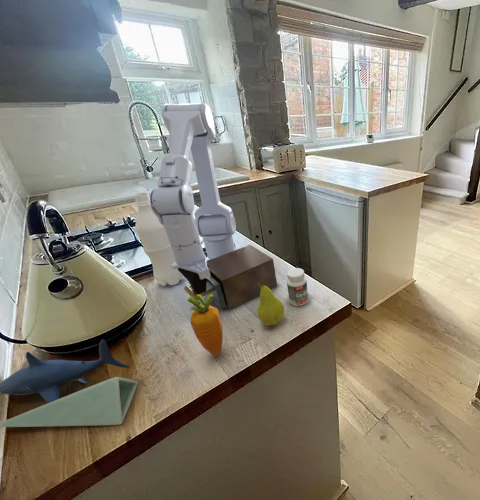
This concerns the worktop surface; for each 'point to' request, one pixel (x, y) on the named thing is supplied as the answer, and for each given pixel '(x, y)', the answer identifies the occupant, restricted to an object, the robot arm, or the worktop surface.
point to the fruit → (269, 307)
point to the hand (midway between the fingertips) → (201, 291)
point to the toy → (53, 374)
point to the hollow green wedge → (82, 407)
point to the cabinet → (243, 274)
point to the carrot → (207, 324)
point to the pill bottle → (297, 287)
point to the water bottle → (155, 242)
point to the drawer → (210, 291)
